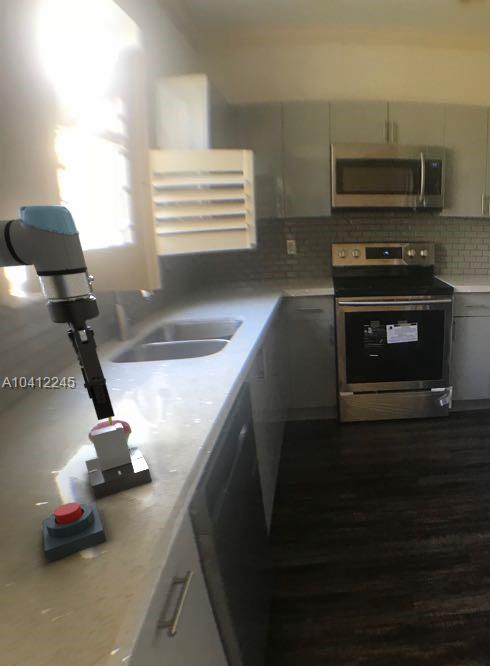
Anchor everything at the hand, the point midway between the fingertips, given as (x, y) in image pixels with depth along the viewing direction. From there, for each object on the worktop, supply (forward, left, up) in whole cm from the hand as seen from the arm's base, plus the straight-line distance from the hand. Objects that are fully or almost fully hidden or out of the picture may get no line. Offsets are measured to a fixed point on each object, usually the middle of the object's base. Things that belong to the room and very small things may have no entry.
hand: (101, 406), depth 89 cm
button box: (+16, -9, -16) cm, 24 cm away
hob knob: (0, 0, -13) cm, 13 cm away
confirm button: (+16, -9, -12) cm, 22 cm away
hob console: (0, 0, -16) cm, 16 cm away
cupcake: (-14, +1, -16) cm, 21 cm away
